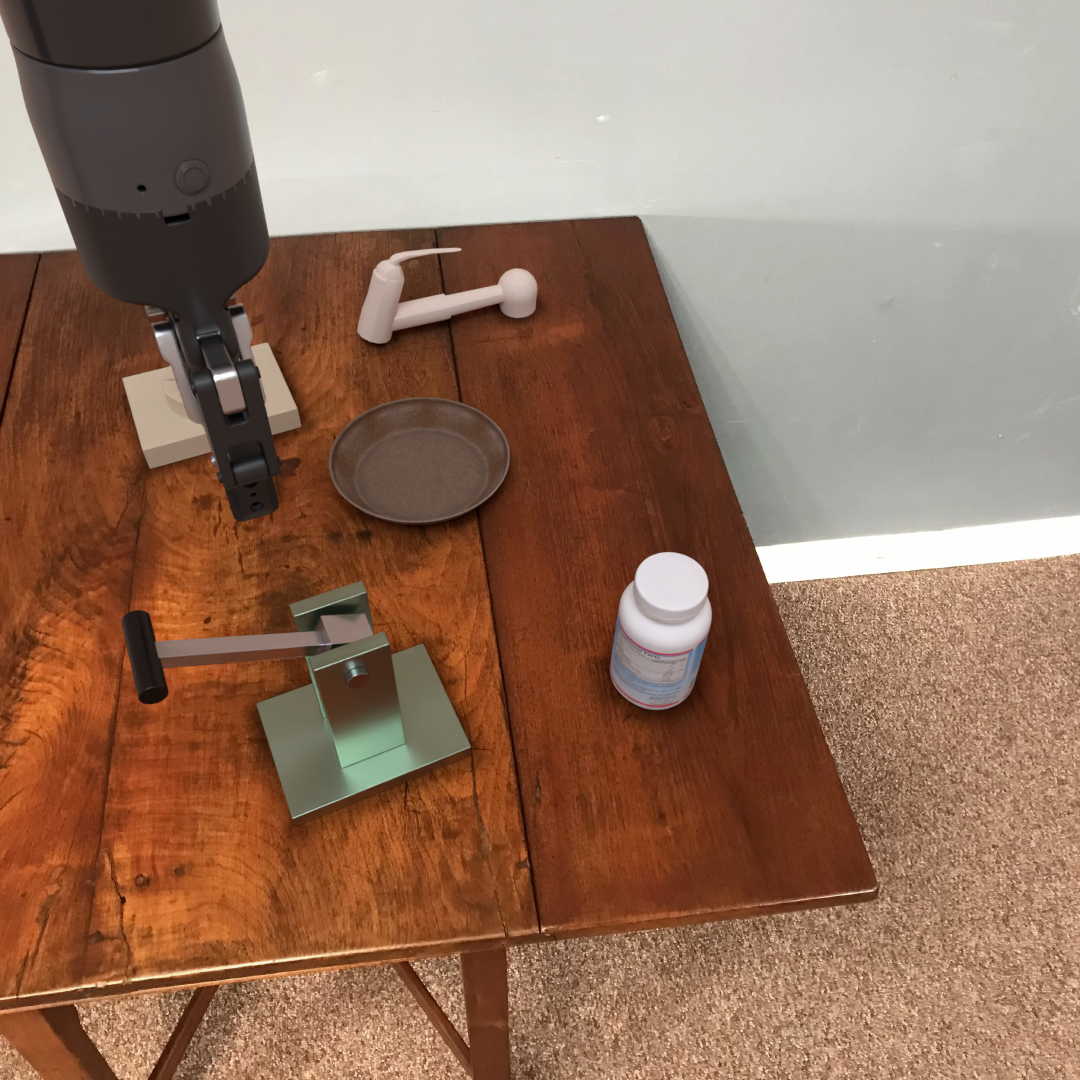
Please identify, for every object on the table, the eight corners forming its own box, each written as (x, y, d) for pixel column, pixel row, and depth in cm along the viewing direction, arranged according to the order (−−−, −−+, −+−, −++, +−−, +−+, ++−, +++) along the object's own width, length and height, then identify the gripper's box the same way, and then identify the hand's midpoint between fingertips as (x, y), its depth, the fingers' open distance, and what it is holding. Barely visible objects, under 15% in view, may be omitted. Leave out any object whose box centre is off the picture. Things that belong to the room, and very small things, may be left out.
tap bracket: (295, 827, 59) (253, 726, 49) (259, 712, 64) (215, 600, 54) (472, 755, 62) (466, 648, 53) (424, 652, 68) (410, 536, 58)
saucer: (386, 400, 85) (383, 376, 83) (536, 446, 82) (537, 423, 80) (298, 510, 76) (293, 487, 74) (463, 567, 73) (461, 545, 71)
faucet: (526, 354, 97) (558, 270, 91) (363, 344, 88) (386, 251, 82) (512, 332, 99) (543, 248, 93) (352, 320, 91) (374, 227, 84)
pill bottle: (651, 626, 70) (672, 527, 61) (711, 682, 67) (741, 585, 58) (591, 670, 67) (603, 572, 58) (650, 729, 64) (672, 636, 56)
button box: (150, 469, 79) (135, 434, 76) (129, 396, 84) (115, 361, 81) (301, 427, 83) (294, 392, 79) (272, 360, 88) (263, 325, 85)
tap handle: (134, 712, 47) (142, 682, 46) (117, 634, 50) (124, 603, 49) (372, 687, 55) (385, 660, 54) (345, 620, 58) (357, 594, 57)
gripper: (24, 90, 39) (133, 392, 51) (77, 271, 31) (191, 579, 43) (207, 64, 41) (269, 359, 54) (301, 227, 33) (349, 530, 45)
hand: (234, 456), depth 48 cm, fingers open, 8 cm apart
